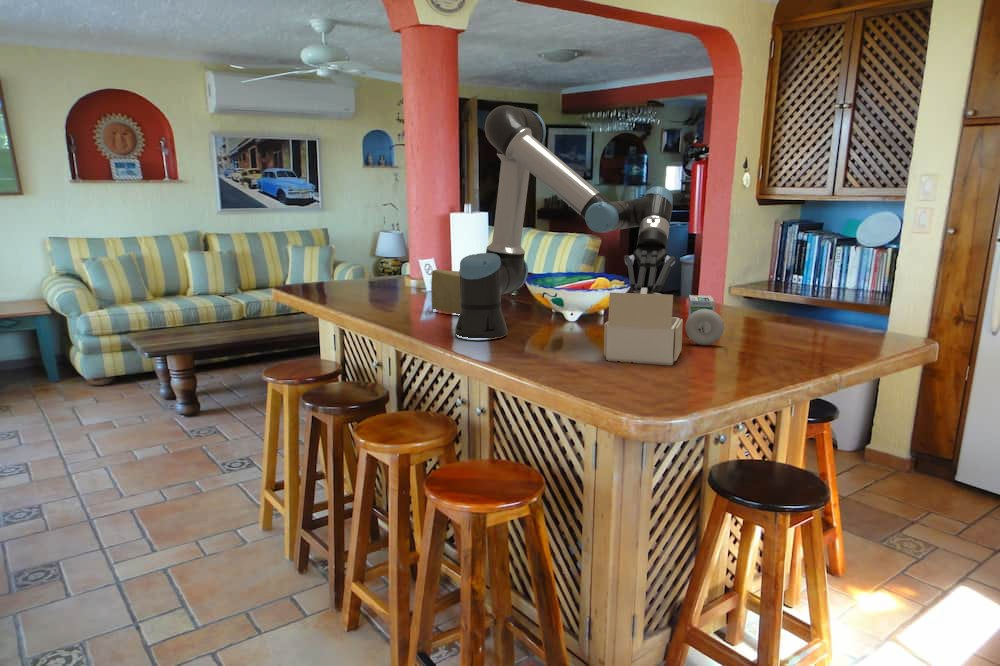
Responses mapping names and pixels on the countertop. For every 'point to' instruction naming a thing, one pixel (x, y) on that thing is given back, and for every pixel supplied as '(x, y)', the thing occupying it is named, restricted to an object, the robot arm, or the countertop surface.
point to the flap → (640, 310)
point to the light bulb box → (701, 303)
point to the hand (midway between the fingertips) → (641, 312)
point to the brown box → (446, 291)
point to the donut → (709, 317)
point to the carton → (643, 343)
